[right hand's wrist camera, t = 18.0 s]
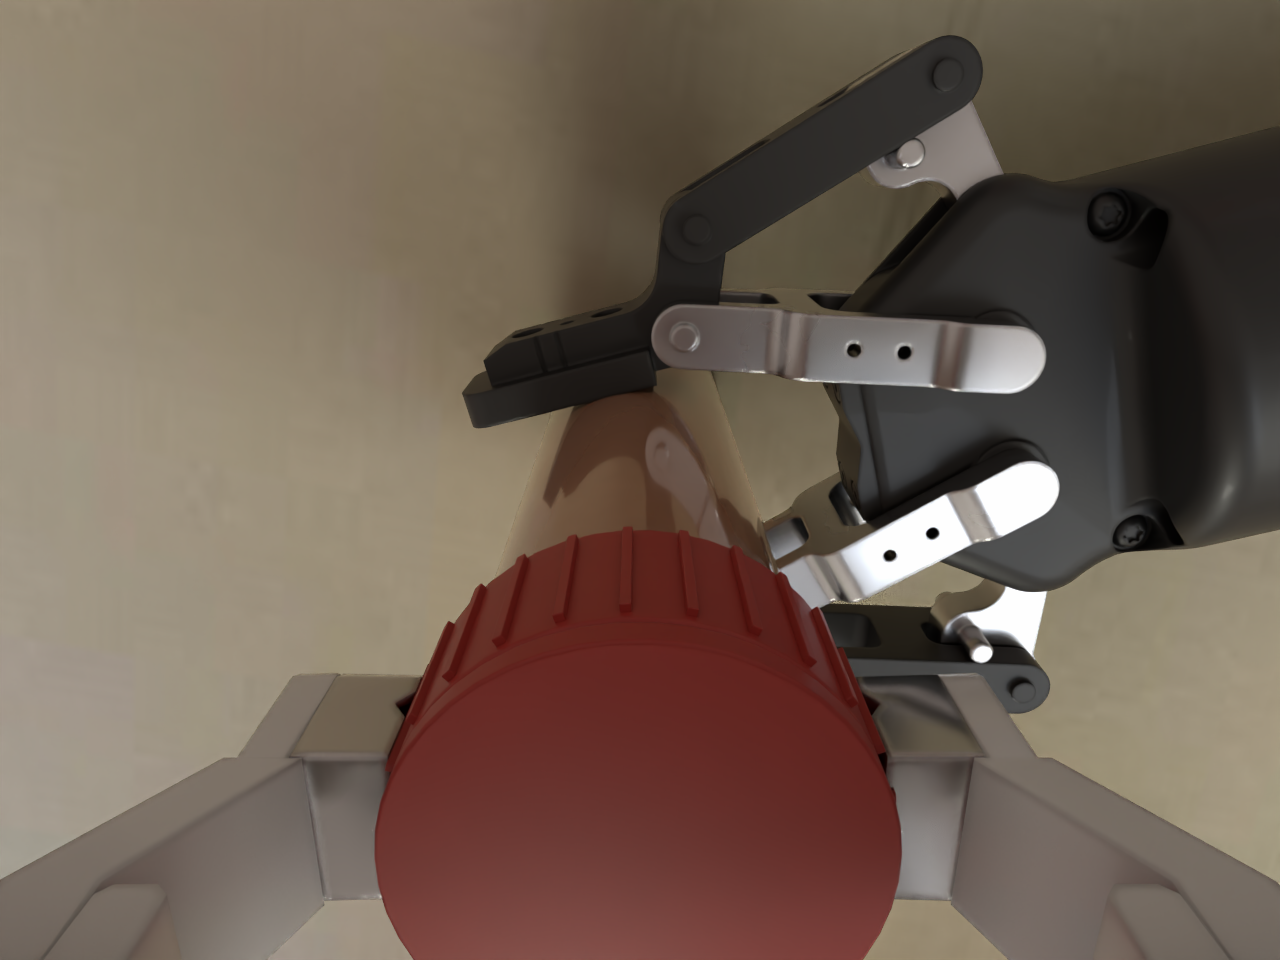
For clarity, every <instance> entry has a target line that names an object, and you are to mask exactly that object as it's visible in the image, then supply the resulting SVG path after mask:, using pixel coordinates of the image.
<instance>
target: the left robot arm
mask: <svg viewBox="0 0 1280 960" xmlns="http://www.w3.org/2000/svg"><path fill="white" fill-rule="evenodd" d="M982 74H983V67H982V61H981V57H980V55H979V52H978V51H977V49H976V48H975V47H974V45H973V44H972V43H971V42H969V41H968V40H966V39H964V38H962V37H959V36H953V35H948V36H942V37H939V38H936V39H933V40H931V41H929V42H926V43H924V44H921V45H919V46H916V47H914V48H912V49H909V50H907V51H904V52H902V53H899V54H897V55H895V56H893V57H891V58H890V59H888V60H887V61H885V62H883V63H882V64H880V65H879V66H877V67H875V68H874V69H872V70H871V71H869V72H867V73H866V74H864V75H863V76H861V77H859V78H858V79H856V80H855V81H853V82H852V83H850V84H848V85H847V86H845V87H844V88H842V89H840V90H839V91H837V92H836V93H834V94H832V95H831V96H829V97H828V98H826V99H825V100H823V101H821V102H820V103H818V104H817V105H815V106H813V107H812V108H810V109H809V110H807V111H805V112H804V113H802V114H801V115H799V116H798V117H796V118H794V119H793V120H791V121H790V122H788V123H786V124H785V125H783V126H782V127H780V128H778V129H777V130H775V131H774V132H772V133H771V134H769V135H767V136H766V137H764V138H763V139H761V140H759V141H758V142H756V143H755V144H753V145H751V146H750V147H748V148H747V149H745V150H744V151H742V152H740V153H739V154H737V155H736V156H734V157H732V158H731V159H729V160H728V161H726V162H724V163H723V164H721V165H720V166H718V167H717V168H715V169H713V170H712V171H710V172H709V173H707V174H705V175H704V176H702V177H701V178H699V179H697V180H696V181H694V182H693V183H691V184H690V185H688V186H686V187H685V188H683V189H682V190H680V191H678V192H677V193H675V194H674V195H673V196H671V197H670V198H669V199H668V200H667V201H666V203H665V205H664V206H663V209H662V211H661V215H660V231H659V241H658V250H657V260H656V269H655V274H654V277H653V279H652V281H651V283H650V285H649V286H648V288H647V289H646V290H645V291H644V292H643V293H642V294H641V295H640V296H639V297H637V298H635V299H633V300H632V301H629V302H626V303H622V304H618V305H614V306H610V307H606V308H602V309H598V310H595V311H591V312H587V313H583V314H579V315H575V316H571V317H567V318H564V319H561V320H560V319H559V320H556V321H552V322H548V323H545V324H540V325H536V326H532V327H528V328H524V329H520V330H517V331H515V332H513V333H512V334H511V335H509V336H508V337H507V338H505V339H504V340H503V341H501V342H500V343H499V344H497V345H496V346H495V347H494V348H493V349H492V351H491V352H490V353H489V354H488V356H487V357H486V358H485V360H484V364H485V367H486V370H487V371H485V372H482V373H480V374H478V375H476V376H475V377H474V378H473V379H472V381H471V382H470V383H469V384H468V386H467V387H466V388H465V390H464V391H463V392H462V394H463V397H464V400H465V403H466V406H467V409H468V412H469V415H470V418H471V421H472V424H473V427H474V428H486V427H492V426H496V425H500V424H504V423H508V422H512V421H516V420H520V419H524V418H528V417H532V416H536V415H540V414H544V413H548V412H552V411H556V410H561V409H565V408H569V407H573V406H577V405H581V404H585V403H589V402H593V401H597V400H599V399H603V398H607V397H610V396H614V395H620V394H625V393H629V392H633V391H637V390H641V389H645V388H649V387H654V386H657V375H656V371H659V370H663V369H667V368H671V367H673V368H676V369H682V370H704V371H725V372H747V373H766V374H773V375H777V376H780V377H783V378H786V379H791V380H797V381H808V382H823V386H824V388H825V390H826V392H827V394H828V396H829V398H830V400H831V402H832V404H833V406H834V408H835V410H836V412H837V414H838V416H839V429H838V440H837V451H836V455H837V461H838V466H839V471H840V472H838V473H836V474H834V475H832V476H830V477H829V478H827V479H825V480H823V481H821V482H819V483H818V484H816V485H814V486H812V487H810V488H809V489H807V490H805V491H804V492H802V493H801V494H800V495H799V496H798V497H797V498H796V499H795V501H794V503H793V504H792V506H791V507H790V508H789V509H788V510H786V511H785V512H783V513H781V514H779V515H777V516H775V517H774V518H772V519H770V520H768V521H766V522H764V523H763V524H764V527H765V530H766V533H767V536H768V538H769V541H770V544H771V547H772V550H773V553H774V556H775V559H776V562H777V565H778V568H779V570H780V571H781V572H782V573H784V574H785V575H786V576H787V577H788V580H789V583H790V586H791V587H792V588H793V589H794V590H795V591H796V592H797V593H798V594H799V595H800V596H801V597H802V598H803V599H804V600H805V601H806V603H807V604H808V605H809V606H810V607H811V609H813V608H815V607H816V606H818V607H819V609H820V610H821V611H822V613H823V615H824V618H825V620H826V623H827V625H828V628H829V630H830V633H831V635H832V638H833V640H834V643H835V645H836V647H837V649H839V648H841V647H842V648H843V649H844V652H845V654H846V656H847V659H848V661H849V664H850V666H851V668H852V671H853V673H854V676H855V677H863V676H902V675H934V674H959V673H977V674H979V675H981V676H983V677H984V679H985V680H986V682H987V683H988V685H989V686H990V687H991V689H992V690H993V692H994V693H995V695H996V696H997V698H998V699H999V701H1000V702H1001V704H1002V705H1003V707H1004V708H1005V710H1006V711H1007V712H1008V713H1015V714H1017V713H1026V712H1029V711H1031V710H1034V709H1035V708H1037V707H1038V706H1040V705H1041V704H1042V703H1043V702H1044V701H1045V699H1046V698H1047V696H1048V694H1049V690H1050V681H1049V678H1048V676H1047V675H1046V673H1045V672H1044V671H1043V669H1042V668H1041V667H1040V665H1039V664H1038V663H1037V662H1036V660H1035V658H1034V648H1035V644H1036V639H1037V635H1038V630H1039V626H1040V621H1041V617H1042V612H1043V608H1044V603H1045V599H1046V595H1047V591H1050V590H1054V589H1057V588H1060V587H1062V586H1064V585H1066V584H1068V583H1070V582H1072V581H1073V580H1074V579H1076V578H1077V577H1078V576H1080V575H1081V574H1082V573H1083V572H1085V571H1086V570H1088V569H1089V568H1091V567H1092V566H1094V565H1095V564H1097V563H1099V562H1101V561H1103V560H1105V559H1107V558H1109V557H1111V556H1114V555H1116V554H1120V553H1125V552H1132V551H1149V550H1175V549H1190V548H1197V547H1203V546H1208V545H1213V544H1217V543H1221V542H1226V541H1230V540H1235V539H1239V538H1244V537H1248V536H1253V535H1257V534H1262V533H1266V532H1271V531H1275V530H1280V126H1277V127H1273V128H1269V129H1265V130H1261V131H1257V132H1254V133H1250V134H1246V135H1242V136H1238V137H1234V138H1230V139H1226V140H1223V141H1219V142H1215V143H1211V144H1207V145H1203V146H1199V147H1196V148H1192V149H1188V150H1184V151H1180V152H1176V153H1172V154H1168V155H1165V156H1161V157H1157V158H1153V159H1149V160H1145V161H1141V162H1138V163H1134V164H1130V165H1126V166H1122V167H1118V168H1114V169H1111V170H1107V171H1103V172H1099V173H1095V174H1091V175H1087V176H1083V177H1080V178H1076V179H1071V180H1066V181H1059V182H1050V181H1046V180H1042V179H1039V178H1036V177H1033V176H1029V175H1025V174H1017V173H1010V174H1004V173H1003V171H1002V169H1001V166H1000V164H999V162H998V159H997V157H996V155H995V153H994V150H993V148H992V146H991V143H990V141H989V139H988V137H987V134H986V132H985V130H984V128H983V125H982V123H981V121H980V118H979V116H978V114H977V112H976V109H975V107H974V105H973V102H972V99H973V98H974V96H975V95H976V93H977V91H978V89H979V87H980V84H981V80H982ZM857 172H858V173H859V174H860V176H861V177H862V178H863V179H864V180H865V181H866V182H867V183H869V184H871V185H873V186H876V187H883V188H892V189H901V188H906V187H908V186H911V185H913V184H916V183H918V182H923V181H924V182H926V183H928V184H930V185H931V186H933V187H934V188H935V189H936V190H937V191H938V193H939V195H940V196H941V197H940V198H939V200H938V201H937V202H936V203H935V204H934V205H933V206H932V207H931V208H930V209H929V211H928V212H927V213H926V214H925V215H924V216H923V217H922V218H921V219H920V220H919V222H918V223H917V224H916V225H915V226H914V227H913V228H912V229H911V230H910V232H909V233H908V234H907V235H906V236H905V237H904V238H903V239H902V240H901V241H900V243H899V244H898V245H897V246H896V247H895V248H894V249H893V250H892V251H891V253H890V254H889V255H888V256H887V257H886V258H885V259H884V260H883V261H882V262H881V264H880V265H879V266H878V267H877V268H876V269H875V270H874V271H873V272H872V273H871V275H870V276H869V277H868V278H867V279H866V280H865V281H864V282H863V283H862V285H861V286H860V287H859V288H858V289H857V290H856V291H841V290H820V289H799V288H767V289H761V290H754V289H732V288H721V284H722V276H723V268H724V261H725V253H726V252H727V251H729V250H731V249H732V248H734V247H736V246H737V245H739V244H740V243H742V242H744V241H745V240H747V239H749V238H750V237H752V236H754V235H755V234H757V233H759V232H760V231H762V230H764V229H765V228H767V227H768V226H770V225H772V224H773V223H775V222H777V221H778V220H780V219H782V218H783V217H785V216H787V215H788V214H790V213H791V212H793V211H795V210H796V209H798V208H800V207H801V206H803V205H805V204H806V203H808V202H810V201H811V200H813V199H814V198H816V197H818V196H819V195H821V194H823V193H824V192H826V191H828V190H829V189H831V188H833V187H834V186H836V185H837V184H839V183H841V182H842V181H844V180H846V179H847V178H849V177H851V176H852V175H854V174H856V173H857ZM939 561H940V562H943V563H945V564H948V565H951V566H953V567H956V568H959V569H961V570H964V571H967V572H969V573H972V574H974V575H977V576H980V577H982V578H985V579H984V580H983V581H982V582H981V583H980V584H979V585H978V586H976V587H975V588H973V589H971V590H968V591H964V592H955V593H951V592H943V593H941V594H939V595H938V596H937V598H936V600H935V604H934V605H933V607H906V606H881V605H856V604H831V602H834V601H844V602H849V603H851V602H858V601H862V600H864V599H867V598H869V597H871V596H873V595H874V594H876V593H878V592H880V591H882V590H884V589H886V588H888V587H890V586H892V585H894V584H896V583H898V582H900V581H902V580H904V579H906V578H907V577H909V576H911V575H913V574H915V573H917V572H919V571H921V570H923V569H925V568H927V567H929V566H931V565H933V564H935V563H937V562H939Z"/></svg>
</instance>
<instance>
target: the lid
mask: <svg viewBox="0 0 1280 960" xmlns="http://www.w3.org/2000/svg"><path fill="white" fill-rule="evenodd" d="M884 752H886V750H885V748H884V745H883V743H882V740H881V738H880V736H879V733H878V731H877V728H876V726H875V724H874V721H873V719H872V716H871V714H870V712H869V709H868V707H867V704H866V702H865V700H864V697H863V695H862V692H861V690H860V688H859V685H858V683H857V680H856V678H855V676H854V673H853V671H852V668H851V666H850V664H849V661H848V659H847V656H846V654H845V652H844V649H843V648H842V647H841V648H839V649H837V647H836V645H835V643H834V640H833V638H832V635H831V633H830V630H829V628H828V625H827V623H826V620H825V618H824V615H823V613H822V611H821V610H820V609H819V607H818V606H816V607H815V608H813V609H811V607H810V606H809V605H808V604H807V603H806V601H805V600H804V599H803V598H802V597H801V596H800V595H799V594H798V593H797V592H796V591H795V590H794V589H793V588H792V587H791V586H790V583H789V580H788V577H787V576H786V575H785V574H784V573H782V572H781V571H780V572H779V573H778V574H777V575H776V574H775V573H773V572H772V571H771V570H769V569H768V568H766V567H765V566H763V565H762V564H761V563H759V562H757V561H755V560H753V559H751V558H749V557H747V556H745V555H744V554H743V551H742V548H740V547H737V546H735V545H733V546H732V548H728V547H725V546H723V545H720V544H717V543H715V542H712V541H709V540H705V539H701V538H697V537H693V536H689V531H685V530H679V533H671V532H662V531H653V530H633V527H632V526H628V527H623V530H621V531H614V532H606V533H598V534H591V535H588V536H584V537H580V538H578V537H577V535H576V534H574V535H571V536H568V537H567V541H564V542H562V543H559V544H557V545H554V546H551V547H549V548H546V549H544V550H541V551H539V552H537V553H535V554H533V555H531V556H529V557H527V556H526V555H525V554H523V555H521V556H519V557H517V559H516V562H515V565H513V566H512V567H510V568H509V569H507V570H506V571H505V572H503V573H502V574H501V575H499V576H498V577H497V578H495V579H494V580H493V581H491V582H490V583H489V584H488V585H487V586H486V587H485V586H484V585H483V584H480V585H479V586H478V587H477V588H476V589H475V591H474V593H473V596H472V598H471V601H470V603H469V605H468V606H467V607H466V609H465V610H464V611H463V612H462V614H461V615H460V616H459V618H458V619H457V620H456V622H455V624H453V623H452V622H450V621H448V622H447V624H446V626H445V627H444V630H443V632H442V634H441V637H440V639H439V641H438V644H437V646H436V649H435V651H434V653H433V656H432V658H431V661H430V663H429V664H428V665H427V668H426V670H425V673H424V675H423V677H422V680H421V682H420V684H419V687H418V689H417V692H416V694H415V696H414V699H413V701H412V703H411V706H410V708H409V711H408V713H407V715H406V718H405V720H404V723H403V725H402V727H401V730H400V732H399V734H398V737H397V739H396V741H395V744H394V746H393V749H392V751H391V753H390V756H389V758H388V761H387V763H386V767H385V771H387V772H391V774H390V777H389V780H388V782H387V785H386V788H385V790H384V793H383V796H382V798H381V801H380V806H379V811H378V816H377V821H376V826H375V847H374V859H375V866H376V873H377V880H378V886H379V890H380V893H381V896H382V899H383V903H384V906H385V909H386V912H387V915H388V917H389V919H390V921H391V923H392V925H393V927H394V929H395V931H396V933H397V935H398V937H399V939H400V940H401V942H402V943H403V945H404V946H405V948H406V949H407V950H408V952H409V953H410V955H411V956H412V958H413V959H414V960H863V958H864V957H865V956H866V954H867V953H868V951H869V950H870V948H871V947H872V945H873V943H874V942H875V940H876V939H877V937H878V936H879V934H880V932H881V930H882V928H883V926H884V923H885V921H886V919H887V917H888V915H889V913H890V910H891V908H892V904H893V901H894V897H895V894H896V890H897V886H898V883H899V876H900V868H901V859H902V839H901V824H900V819H899V815H898V810H897V806H896V802H897V800H896V793H895V791H894V790H891V787H890V785H889V782H888V780H887V777H886V775H885V772H884V770H883V767H882V765H881V762H880V760H879V757H878V755H877V754H881V753H884Z"/></svg>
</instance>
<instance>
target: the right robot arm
mask: <svg viewBox="0 0 1280 960" xmlns="http://www.w3.org/2000/svg"><path fill="white" fill-rule="evenodd" d="M422 677H423V675H379V674H342V675H340V674H338V673H319V674H299V675H296V676H293V677H292V678H291V679H290V680H289V682H288V683H287V685H286V686H285V688H284V689H283V691H282V692H281V694H280V695H279V697H278V698H277V699H276V701H275V702H274V704H273V705H272V707H271V708H270V710H269V711H268V713H267V714H266V716H265V717H264V719H263V720H262V722H261V723H260V724H259V726H258V727H257V729H256V730H255V732H254V733H253V735H252V736H251V738H250V739H249V741H248V742H247V744H246V745H245V747H244V748H243V750H242V751H241V752H240V754H239V755H238V757H237V758H222V759H220V760H219V761H217V762H215V763H213V764H211V765H210V766H208V767H206V768H204V769H202V770H200V771H199V772H197V773H195V774H193V775H191V776H189V777H188V778H186V779H184V780H182V781H180V782H178V783H177V784H175V785H173V786H171V787H169V788H167V789H166V790H164V791H162V792H160V793H158V794H156V795H155V796H153V797H151V798H149V799H147V800H145V801H144V802H142V803H140V804H138V805H136V806H134V807H133V808H131V809H129V810H127V811H125V812H123V813H122V814H120V815H118V816H116V817H114V818H112V819H111V820H109V821H107V822H105V823H103V824H101V825H100V826H98V827H96V828H94V829H92V830H91V831H89V832H87V833H85V834H83V835H81V836H80V837H78V838H76V839H74V840H72V841H70V842H69V843H67V844H65V845H63V846H61V847H59V848H58V849H56V850H54V851H52V852H50V853H48V854H47V855H45V856H43V857H41V858H39V859H37V860H36V861H34V862H32V863H30V864H28V865H26V866H25V867H23V868H21V869H19V870H17V871H15V872H14V873H12V874H10V875H8V876H6V877H4V878H3V879H1V880H0V960H267V959H268V958H269V957H270V956H271V955H272V954H273V953H274V952H275V951H276V950H277V949H279V948H280V947H281V946H282V945H283V944H284V943H285V942H286V941H287V940H288V939H289V938H290V937H291V936H292V935H293V934H294V933H295V932H296V931H298V930H299V929H300V928H301V927H302V926H303V925H304V924H305V923H306V922H307V921H308V920H309V919H310V918H311V917H312V916H313V915H314V914H315V913H317V912H318V911H319V910H320V909H321V908H322V907H323V906H324V901H330V900H365V899H382V896H381V893H380V890H379V886H378V880H377V873H376V866H375V859H374V847H375V826H376V821H377V816H378V811H379V806H380V801H381V798H382V796H383V793H384V790H385V788H386V785H387V782H388V780H389V777H390V774H391V772H387V771H385V767H386V763H387V761H388V758H389V756H390V753H391V751H392V749H393V746H394V744H395V741H396V739H397V737H398V734H399V732H400V730H401V727H402V725H403V723H404V720H405V718H406V715H407V713H408V711H409V708H410V706H411V703H412V701H413V699H414V696H415V694H416V692H417V689H418V687H419V684H420V682H421V680H422ZM855 678H856V680H857V683H858V685H859V688H860V690H861V692H862V695H863V697H864V700H865V702H866V704H867V707H868V709H869V712H870V714H871V716H872V719H873V721H874V724H875V726H876V728H877V731H878V733H879V736H880V738H881V740H882V743H883V745H884V748H885V750H886V752H884V753H881V754H877V755H878V757H879V760H880V762H881V765H882V767H883V770H884V772H885V775H886V777H887V780H888V782H889V785H890V787H891V790H894V791H895V793H896V800H897V802H896V806H897V810H898V815H899V819H900V824H901V839H902V859H901V868H900V876H899V883H898V886H897V890H896V894H895V897H894V899H909V900H945V901H951V905H952V906H953V907H954V908H955V909H956V910H957V911H958V912H959V913H960V914H962V915H963V916H964V917H965V918H966V919H967V920H968V921H969V922H970V923H971V924H972V925H973V926H974V927H975V928H976V929H977V930H978V931H979V932H980V933H981V934H982V935H984V936H985V937H986V938H987V939H988V940H989V941H990V942H991V943H992V944H993V945H994V946H995V947H996V948H997V949H998V950H999V951H1000V952H1001V953H1002V954H1003V955H1004V956H1005V957H1007V958H1008V959H1009V960H1280V885H1279V884H1278V883H1277V882H1276V881H1274V880H1273V879H1271V878H1269V877H1267V876H1265V875H1263V874H1262V873H1260V872H1258V871H1256V870H1254V869H1253V868H1251V867H1249V866H1247V865H1245V864H1243V863H1242V862H1240V861H1238V860H1236V859H1234V858H1233V857H1231V856H1229V855H1227V854H1225V853H1223V852H1222V851H1220V850H1218V849H1216V848H1214V847H1213V846H1211V845H1209V844H1207V843H1205V842H1204V841H1202V840H1200V839H1198V838H1196V837H1194V836H1193V835H1191V834H1189V833H1187V832H1185V831H1184V830H1182V829H1180V828H1178V827H1176V826H1174V825H1173V824H1171V823H1169V822H1167V821H1165V820H1164V819H1162V818H1160V817H1158V816H1156V815H1155V814H1153V813H1151V812H1149V811H1147V810H1145V809H1144V808H1142V807H1140V806H1138V805H1136V804H1135V803H1133V802H1131V801H1129V800H1127V799H1125V798H1124V797H1122V796H1120V795H1118V794H1116V793H1115V792H1113V791H1111V790H1109V789H1107V788H1105V787H1104V786H1102V785H1100V784H1098V783H1096V782H1095V781H1093V780H1091V779H1089V778H1087V777H1086V776H1084V775H1082V774H1080V773H1078V772H1076V771H1075V770H1073V769H1071V768H1069V767H1067V766H1066V765H1064V764H1062V763H1060V762H1058V761H1056V760H1055V759H1053V758H1038V757H1037V755H1036V754H1035V752H1034V751H1033V749H1032V748H1031V746H1030V745H1029V743H1028V742H1027V740H1026V739H1025V738H1024V736H1023V735H1022V733H1021V732H1020V730H1019V729H1018V727H1017V726H1016V724H1015V723H1014V721H1013V720H1012V718H1011V717H1010V715H1009V714H1008V712H1007V711H1006V710H1005V708H1004V707H1003V705H1002V704H1001V702H1000V701H999V699H998V698H997V696H996V695H995V693H994V692H993V690H992V689H991V687H990V686H989V685H988V683H987V682H986V680H985V679H984V677H983V676H981V675H979V674H977V673H959V674H934V675H902V676H863V677H855Z"/></svg>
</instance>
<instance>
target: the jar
mask: <svg viewBox="0 0 1280 960" xmlns="http://www.w3.org/2000/svg"><path fill="white" fill-rule="evenodd" d="M656 375H657V386H654V387H649V388H645V389H641V390H637V391H633V392H629V393H625V394H620V395H614V396H610V397H607V398H603V399H599V400H597V401H593V402H589V403H585V404H581V405H577V406H573V407H569V408H565V409H561V410H556V411H552V413H551V416H550V419H549V421H548V424H547V427H546V430H545V433H544V436H543V439H542V442H541V445H540V448H539V450H538V453H537V456H536V459H535V462H534V465H533V468H532V471H531V474H530V477H529V480H528V482H527V485H526V488H525V491H524V494H523V497H522V500H521V503H520V506H519V509H518V512H517V514H516V517H515V520H514V523H513V526H512V529H511V532H510V535H509V538H508V541H507V543H506V546H505V549H504V552H503V555H502V558H501V561H500V564H499V567H498V570H497V573H496V575H495V578H497V577H498V576H499V575H501V574H502V573H503V572H505V571H506V570H507V569H509V568H510V567H512V566H513V565H515V562H516V559H517V557H519V556H521V555H523V554H525V555H526V556H527V557H529V556H531V555H533V554H535V553H537V552H539V551H541V550H544V549H546V548H549V547H551V546H554V545H557V544H559V543H562V542H564V541H567V537H568V536H571V535H574V534H576V535H577V537H578V538H580V537H584V536H588V535H591V534H598V533H606V532H614V531H621V530H623V527H628V526H632V527H633V530H653V531H662V532H671V533H679V530H685V531H689V536H693V537H697V538H701V539H705V540H709V541H712V542H715V543H717V544H720V545H723V546H725V547H728V548H732V546H733V545H735V546H737V547H740V548H742V551H743V554H744V555H745V556H747V557H749V558H751V559H753V560H755V561H757V562H759V563H761V564H762V565H763V566H765V567H766V568H768V569H769V570H771V571H772V572H773V573H775V574H776V575H777V574H778V573H779V572H780V570H779V568H778V565H777V562H776V559H775V556H774V553H773V550H772V547H771V544H770V541H769V538H768V536H767V533H766V530H765V527H764V524H763V521H762V518H761V515H760V512H759V509H758V507H757V504H756V501H755V498H754V495H753V492H752V489H751V486H750V483H749V480H748V477H747V475H746V472H745V469H744V466H743V463H742V460H741V457H740V454H739V451H738V448H737V446H736V443H735V440H734V437H733V434H732V431H731V428H730V425H729V422H728V419H727V416H726V414H725V411H724V408H723V405H722V402H721V399H720V396H719V393H718V390H717V387H716V384H715V382H714V379H713V376H712V373H711V371H704V370H682V369H676V368H673V367H671V368H667V369H663V370H659V371H656ZM495 578H494V579H495Z"/></svg>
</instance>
